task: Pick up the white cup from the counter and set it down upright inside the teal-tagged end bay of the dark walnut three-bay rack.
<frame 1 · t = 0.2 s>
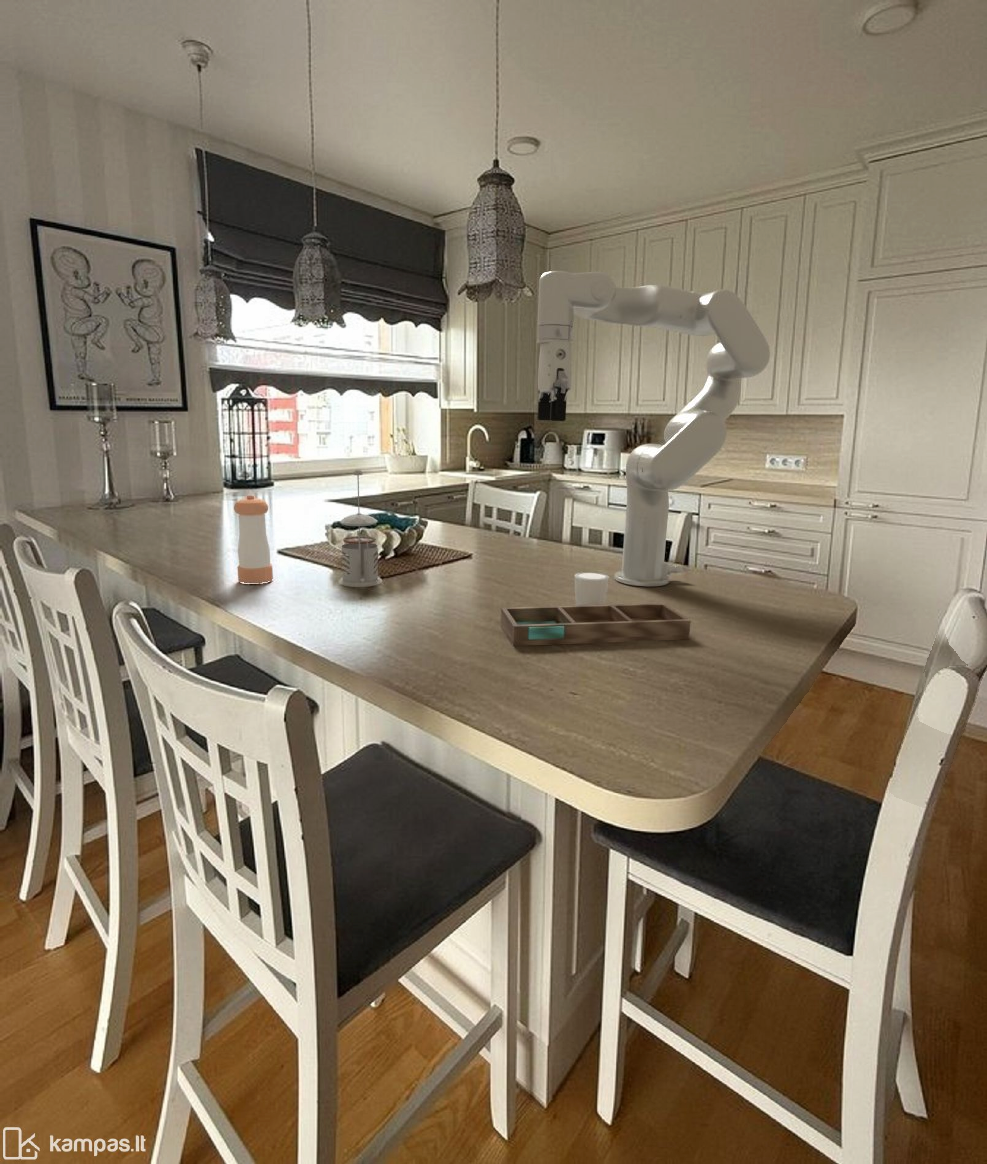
hand: (550, 420, 145), 36 cm above the kitchen island, tool pointing down, fingers open, 9 cm apart
white cup: (589, 610, 134), on the kitchen island
pepper shaker: (255, 582, 149), on the kitchen island
rack: (592, 632, 120), on the kitchen island
french press: (361, 583, 151), on the kitchen island
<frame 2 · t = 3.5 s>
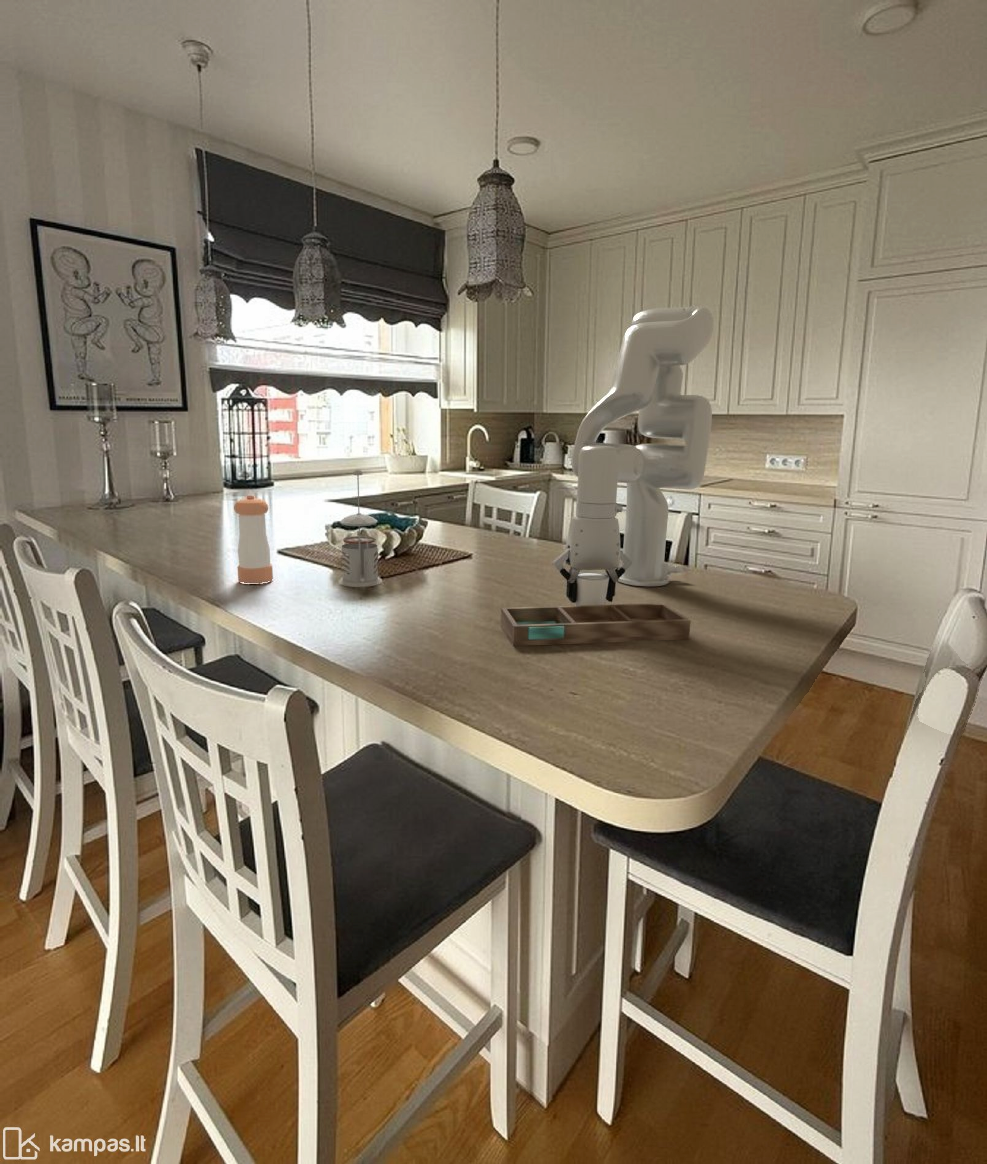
hand: (590, 599, 133), 2 cm above the kitchen island, tool pointing down, fingers closed on white cup, 6 cm apart
white cup: (589, 610, 134), on the kitchen island, touching gripper
everything else where it was.
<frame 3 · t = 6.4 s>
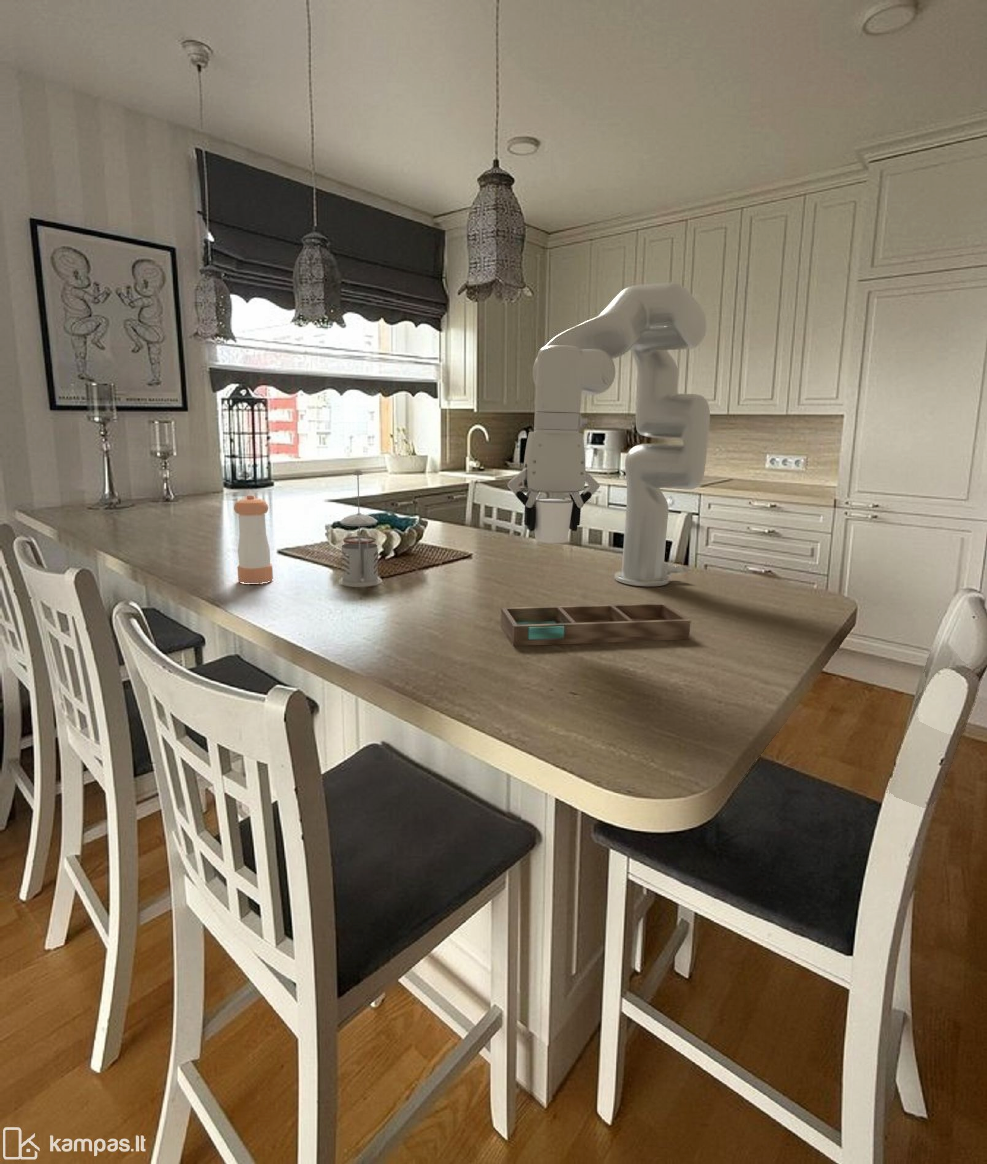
hand: (551, 529, 116), 18 cm above the kitchen island, tool pointing down, fingers closed on white cup, 6 cm apart
white cup: (551, 541, 117), point 16 cm above the kitchen island, touching gripper
everything else where it was.
when the fingers open (4 cm above the kitchen island, at t = 9.3 s): white cup drops 1 cm, resting on rack.
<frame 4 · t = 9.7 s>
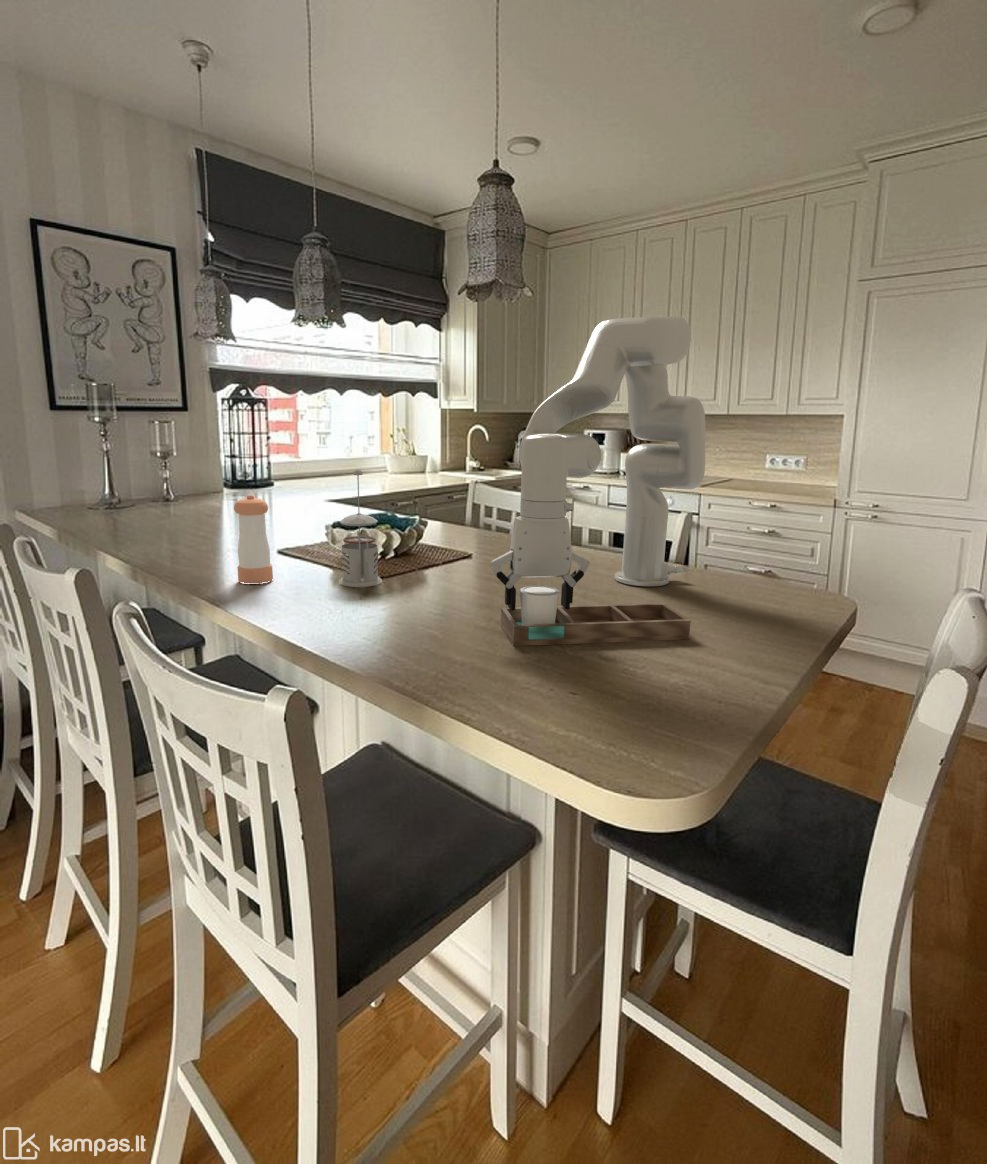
hand: (538, 608, 117), 5 cm above the kitchen island, tool pointing down, fingers open, 9 cm apart
white cup: (538, 629, 118), point 1 cm above the kitchen island, touching rack
everything else where it was.
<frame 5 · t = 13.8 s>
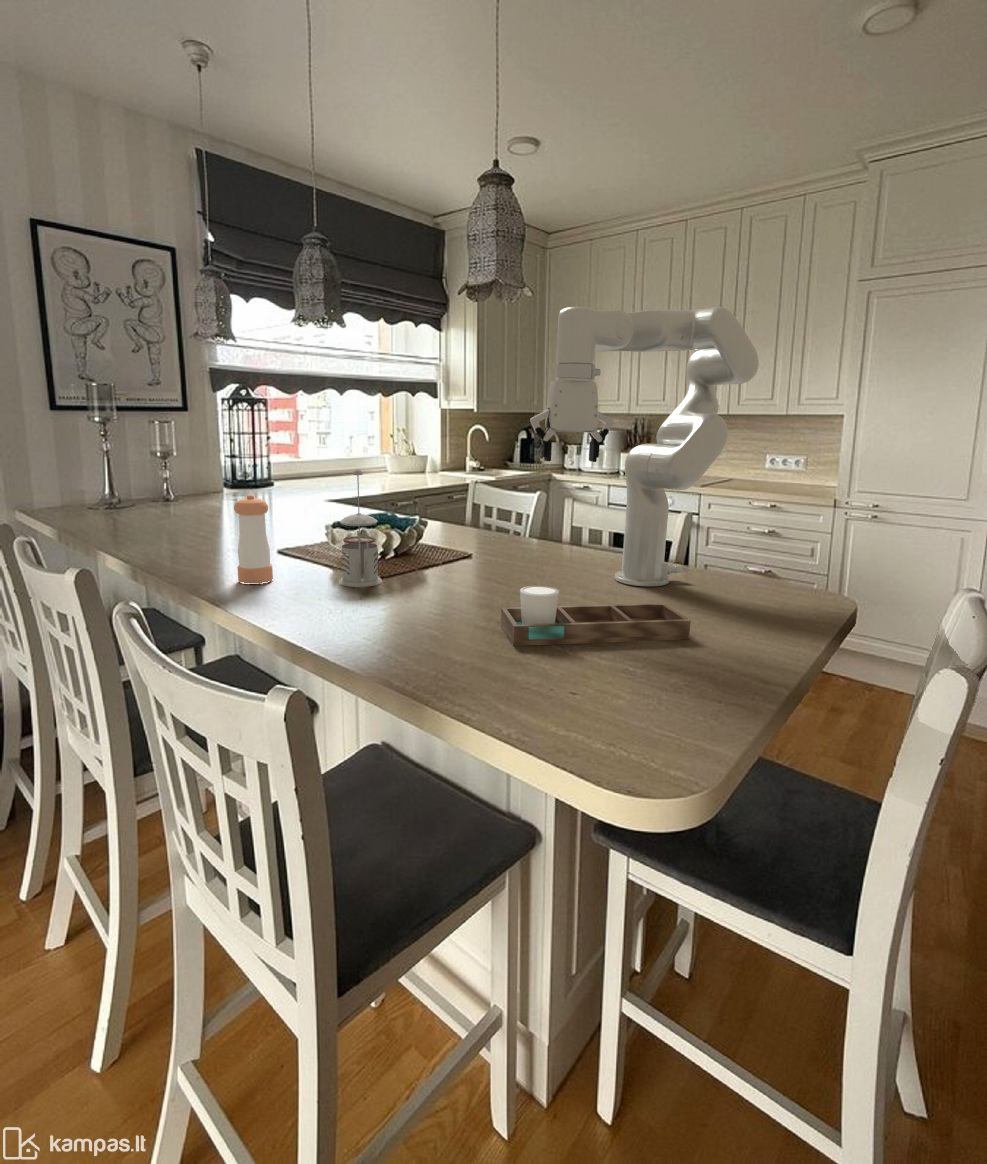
hand: (570, 461, 138), 28 cm above the kitchen island, tool pointing down, fingers open, 9 cm apart
nothing on the kitchen island moved.
at the end: white cup inside the target area on the rack (0.1 cm from its centre), point 0.8 cm above the rack's base; white cup tilted 0°; the gripper is holding nothing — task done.
